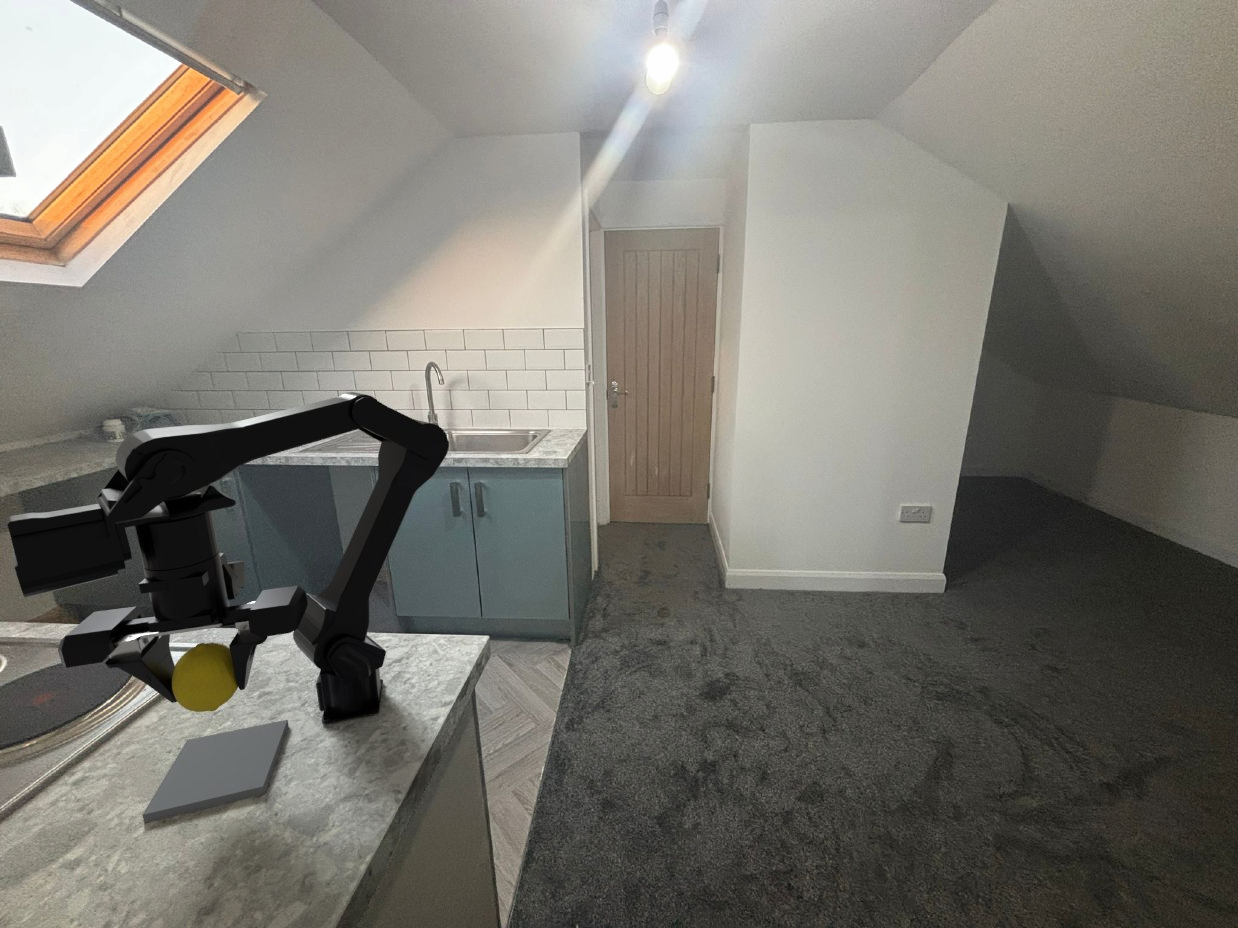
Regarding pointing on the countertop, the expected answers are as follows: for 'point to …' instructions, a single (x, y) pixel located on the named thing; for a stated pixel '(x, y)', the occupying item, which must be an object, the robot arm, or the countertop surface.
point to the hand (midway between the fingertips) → (211, 693)
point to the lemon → (204, 678)
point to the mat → (218, 770)
